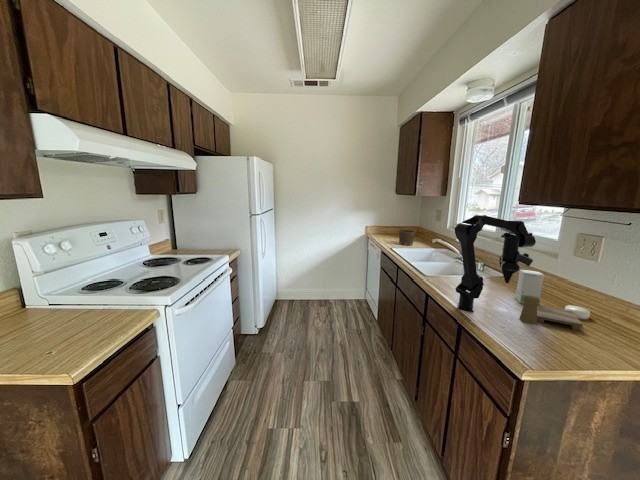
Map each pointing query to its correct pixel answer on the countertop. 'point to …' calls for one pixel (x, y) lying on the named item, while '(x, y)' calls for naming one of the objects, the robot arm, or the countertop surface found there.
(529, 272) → the skincare box
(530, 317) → the olive pestle
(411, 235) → the plant pot
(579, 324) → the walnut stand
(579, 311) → the white rounded piece
